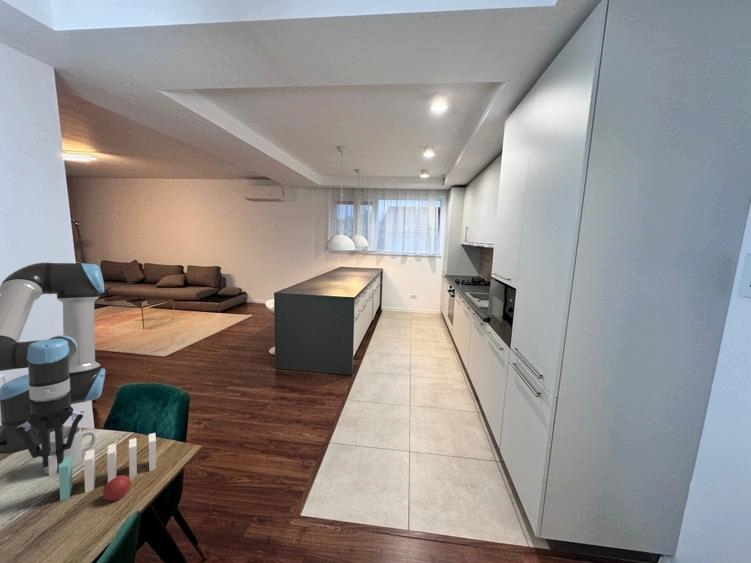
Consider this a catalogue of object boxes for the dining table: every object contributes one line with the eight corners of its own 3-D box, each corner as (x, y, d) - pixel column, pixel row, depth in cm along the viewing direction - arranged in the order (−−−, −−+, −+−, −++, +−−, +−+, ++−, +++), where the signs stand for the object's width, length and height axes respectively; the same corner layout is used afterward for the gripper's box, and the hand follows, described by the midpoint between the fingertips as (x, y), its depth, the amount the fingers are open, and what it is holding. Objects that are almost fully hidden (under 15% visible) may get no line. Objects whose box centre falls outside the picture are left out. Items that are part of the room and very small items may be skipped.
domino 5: (149, 471, 95) (149, 442, 94) (149, 462, 99) (148, 434, 98) (156, 468, 96) (155, 440, 95) (155, 459, 100) (155, 432, 99)
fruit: (107, 511, 82) (114, 494, 80) (97, 495, 84) (104, 478, 82) (132, 496, 88) (139, 479, 86) (123, 481, 90) (130, 464, 87)
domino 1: (60, 500, 83) (58, 468, 82) (63, 489, 87) (62, 457, 86) (69, 497, 84) (68, 465, 83) (72, 486, 88) (71, 455, 87)
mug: (45, 479, 90) (44, 445, 89) (43, 465, 95) (41, 433, 94) (98, 459, 99) (97, 428, 98) (93, 447, 104) (92, 418, 103)
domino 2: (85, 492, 86) (83, 460, 85) (87, 481, 90) (86, 451, 89) (93, 489, 87) (92, 458, 86) (95, 479, 91) (94, 449, 90)
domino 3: (108, 484, 89) (107, 454, 88) (109, 474, 93) (108, 445, 92) (115, 482, 90) (115, 452, 89) (116, 472, 94) (116, 443, 93)
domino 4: (129, 477, 92) (128, 448, 91) (129, 468, 96) (129, 439, 95) (136, 475, 93) (136, 446, 92) (136, 465, 97) (136, 437, 96)
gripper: (9, 408, 74) (14, 494, 76) (81, 395, 82) (84, 473, 84) (19, 396, 80) (23, 476, 82) (85, 385, 88) (88, 458, 90)
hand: (54, 474), depth 83 cm, fingers closed
